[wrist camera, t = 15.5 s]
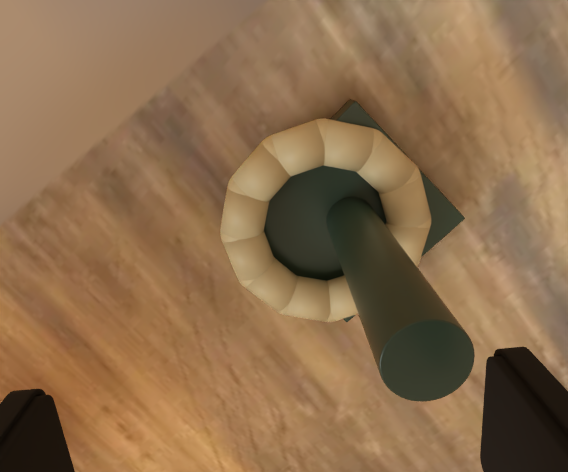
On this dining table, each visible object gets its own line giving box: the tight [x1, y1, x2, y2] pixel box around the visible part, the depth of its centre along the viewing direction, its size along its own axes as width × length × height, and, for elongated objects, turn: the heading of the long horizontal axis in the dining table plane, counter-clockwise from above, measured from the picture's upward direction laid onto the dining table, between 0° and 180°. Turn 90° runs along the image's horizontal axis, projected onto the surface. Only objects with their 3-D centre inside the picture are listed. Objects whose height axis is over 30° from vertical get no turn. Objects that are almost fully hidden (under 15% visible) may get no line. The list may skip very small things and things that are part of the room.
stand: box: [264, 99, 474, 401], centre depth 18 cm, size 8×8×14 cm
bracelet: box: [220, 118, 431, 322], centre depth 22 cm, size 10×10×2 cm
